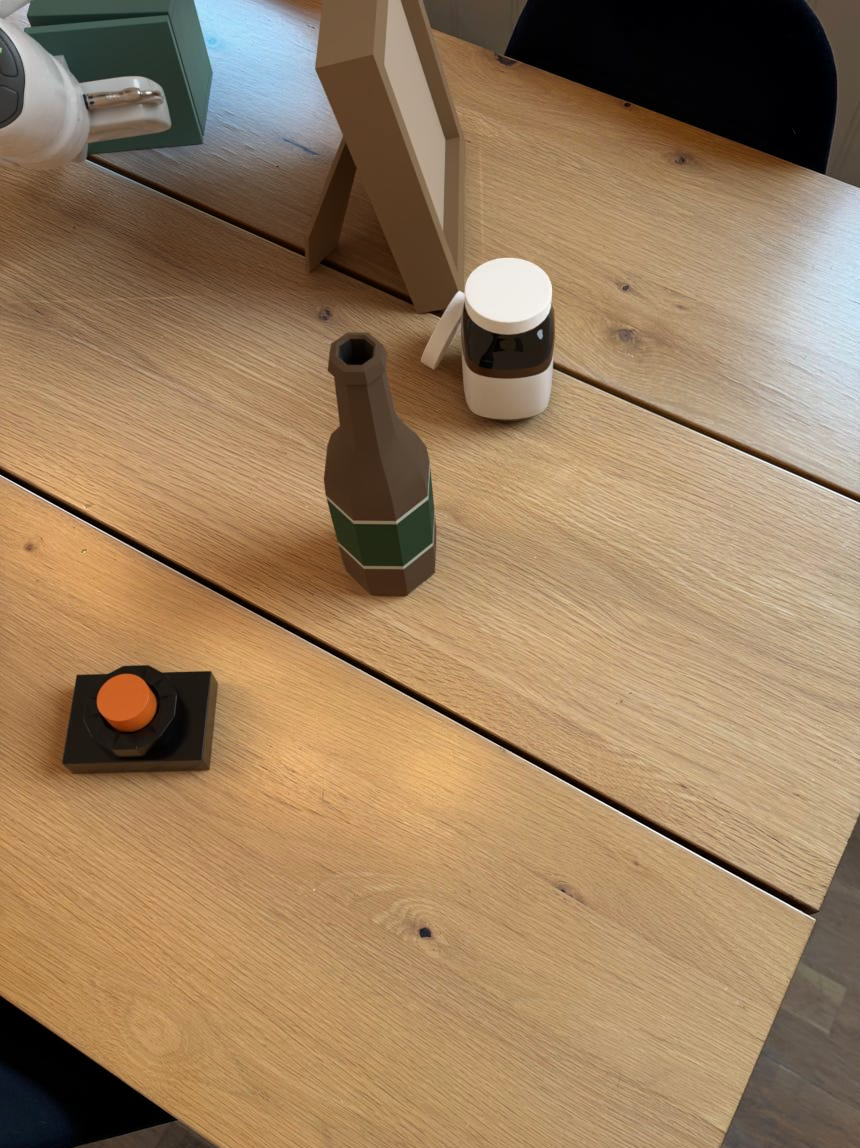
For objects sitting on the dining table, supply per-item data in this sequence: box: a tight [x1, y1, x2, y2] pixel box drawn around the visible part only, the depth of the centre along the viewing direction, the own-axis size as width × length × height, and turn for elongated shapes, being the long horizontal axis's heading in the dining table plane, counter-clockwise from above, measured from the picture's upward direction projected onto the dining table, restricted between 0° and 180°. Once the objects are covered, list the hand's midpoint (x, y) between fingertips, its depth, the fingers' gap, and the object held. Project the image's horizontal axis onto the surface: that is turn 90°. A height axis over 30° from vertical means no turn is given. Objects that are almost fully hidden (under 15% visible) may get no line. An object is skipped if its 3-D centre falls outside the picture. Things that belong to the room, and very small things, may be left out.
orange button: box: [97, 674, 157, 732], centre depth 74 cm, size 4×4×2 cm
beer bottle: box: [323, 331, 437, 596], centre depth 73 cm, size 8×8×24 cm
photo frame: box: [304, 0, 466, 315], centre depth 90 cm, size 15×22×25 cm
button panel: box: [61, 664, 219, 775], centre depth 76 cm, size 10×7×4 cm
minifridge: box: [26, 0, 214, 137], centre depth 104 cm, size 10×13×13 cm
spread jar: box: [420, 257, 556, 422], centre depth 87 cm, size 12×11×12 cm
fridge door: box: [23, 15, 204, 164], centre depth 100 cm, size 7×13×13 cm, turn 97°
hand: (68, 133), depth 98 cm, fingers closed on fridge door, 2 cm apart
